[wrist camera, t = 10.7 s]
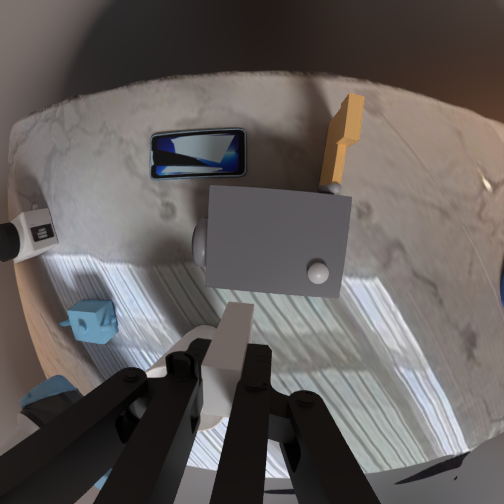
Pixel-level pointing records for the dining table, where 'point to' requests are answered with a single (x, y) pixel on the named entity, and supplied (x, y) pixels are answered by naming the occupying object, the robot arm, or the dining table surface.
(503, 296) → the blue flat round ring
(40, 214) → the container
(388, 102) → the dining table surface
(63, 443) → the robot arm
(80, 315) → the teapot
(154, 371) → the cup
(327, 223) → the case
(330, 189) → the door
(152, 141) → the smartphone
